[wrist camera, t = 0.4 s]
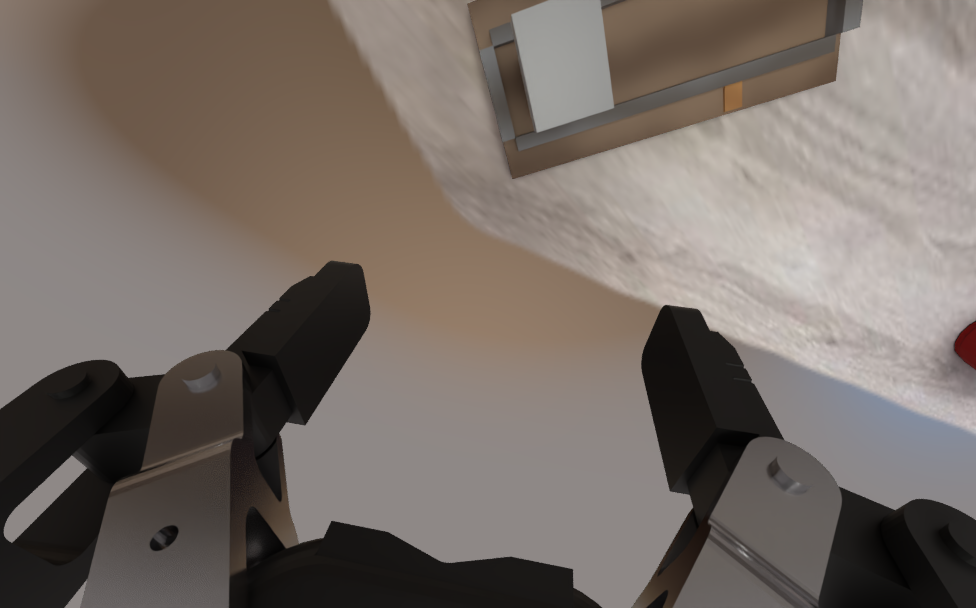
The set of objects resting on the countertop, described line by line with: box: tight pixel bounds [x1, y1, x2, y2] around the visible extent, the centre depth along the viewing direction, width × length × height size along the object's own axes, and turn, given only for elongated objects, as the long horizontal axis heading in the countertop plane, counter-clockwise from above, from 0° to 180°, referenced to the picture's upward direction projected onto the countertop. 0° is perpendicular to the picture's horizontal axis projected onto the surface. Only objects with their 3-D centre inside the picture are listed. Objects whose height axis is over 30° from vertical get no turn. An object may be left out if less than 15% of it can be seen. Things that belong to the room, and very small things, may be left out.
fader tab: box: [511, 0, 614, 133], centre depth 22 cm, size 5×4×10 cm
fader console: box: [468, 0, 863, 179], centre depth 26 cm, size 12×24×4 cm, turn 107°
